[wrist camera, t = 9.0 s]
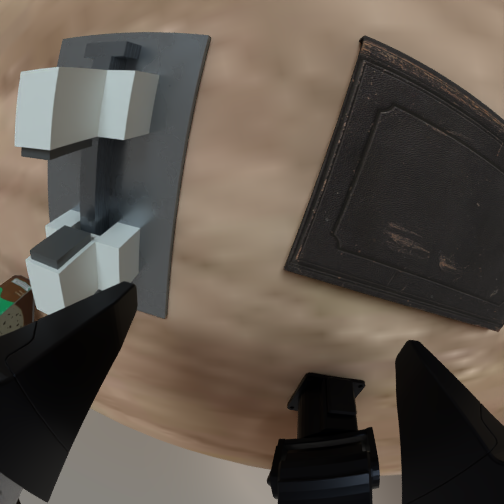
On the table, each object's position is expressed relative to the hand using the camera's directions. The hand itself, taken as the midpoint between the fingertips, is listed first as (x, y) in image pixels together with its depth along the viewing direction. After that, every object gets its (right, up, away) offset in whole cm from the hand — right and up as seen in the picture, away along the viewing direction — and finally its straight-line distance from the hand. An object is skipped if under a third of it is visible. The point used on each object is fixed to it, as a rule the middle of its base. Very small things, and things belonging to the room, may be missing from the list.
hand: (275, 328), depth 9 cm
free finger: (-13, +3, +13) cm, 18 cm away
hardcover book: (+15, +6, +10) cm, 19 cm away
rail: (-12, +8, +11) cm, 18 cm away
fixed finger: (-10, +12, +8) cm, 18 cm away
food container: (-30, -3, +19) cm, 36 cm away
